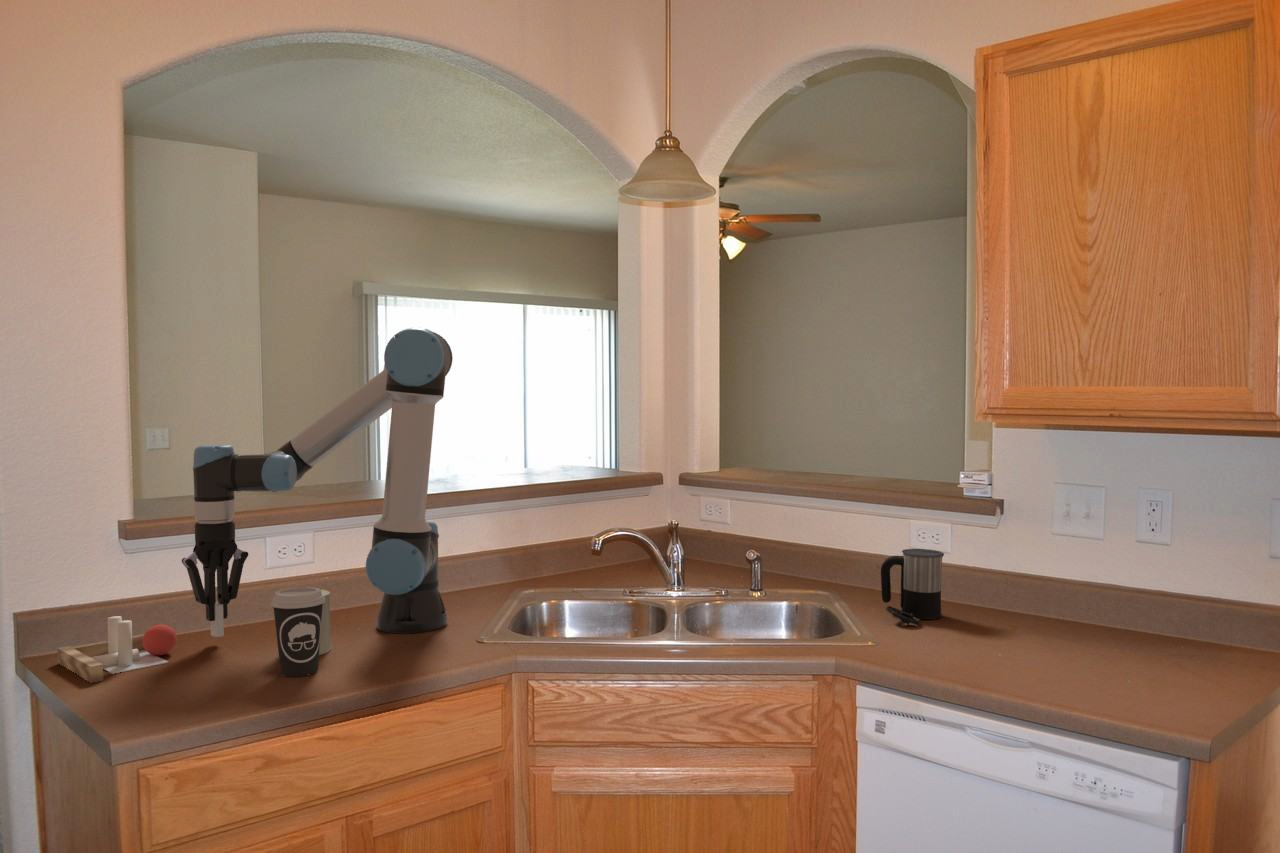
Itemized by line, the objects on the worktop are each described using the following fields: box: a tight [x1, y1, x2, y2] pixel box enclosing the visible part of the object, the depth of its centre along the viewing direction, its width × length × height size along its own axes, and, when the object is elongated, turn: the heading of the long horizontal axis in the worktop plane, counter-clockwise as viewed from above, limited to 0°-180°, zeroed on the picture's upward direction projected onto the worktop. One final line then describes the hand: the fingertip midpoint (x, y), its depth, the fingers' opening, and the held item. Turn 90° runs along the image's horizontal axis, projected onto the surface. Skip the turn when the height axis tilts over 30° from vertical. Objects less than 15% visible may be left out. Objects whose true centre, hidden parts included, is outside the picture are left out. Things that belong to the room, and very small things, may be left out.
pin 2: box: [117, 619, 133, 667], centre depth 182 cm, size 2×2×8 cm
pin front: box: [90, 649, 140, 667], centre depth 183 cm, size 2×2×8 cm
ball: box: [143, 623, 178, 657], centre depth 190 cm, size 6×6×6 cm
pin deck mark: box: [103, 650, 169, 675], centre depth 185 cm, size 12×10×1 cm
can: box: [319, 589, 332, 656], centre depth 193 cm, size 9×9×12 cm
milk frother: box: [880, 548, 945, 626], centre depth 218 cm, size 14×16×15 cm
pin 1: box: [107, 615, 123, 654], centre depth 186 cm, size 2×2×8 cm
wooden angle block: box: [57, 633, 146, 684], centre depth 185 cm, size 18×18×3 cm
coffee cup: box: [270, 586, 325, 677], centre depth 179 cm, size 10×10×15 cm
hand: (217, 635), depth 198 cm, fingers closed
